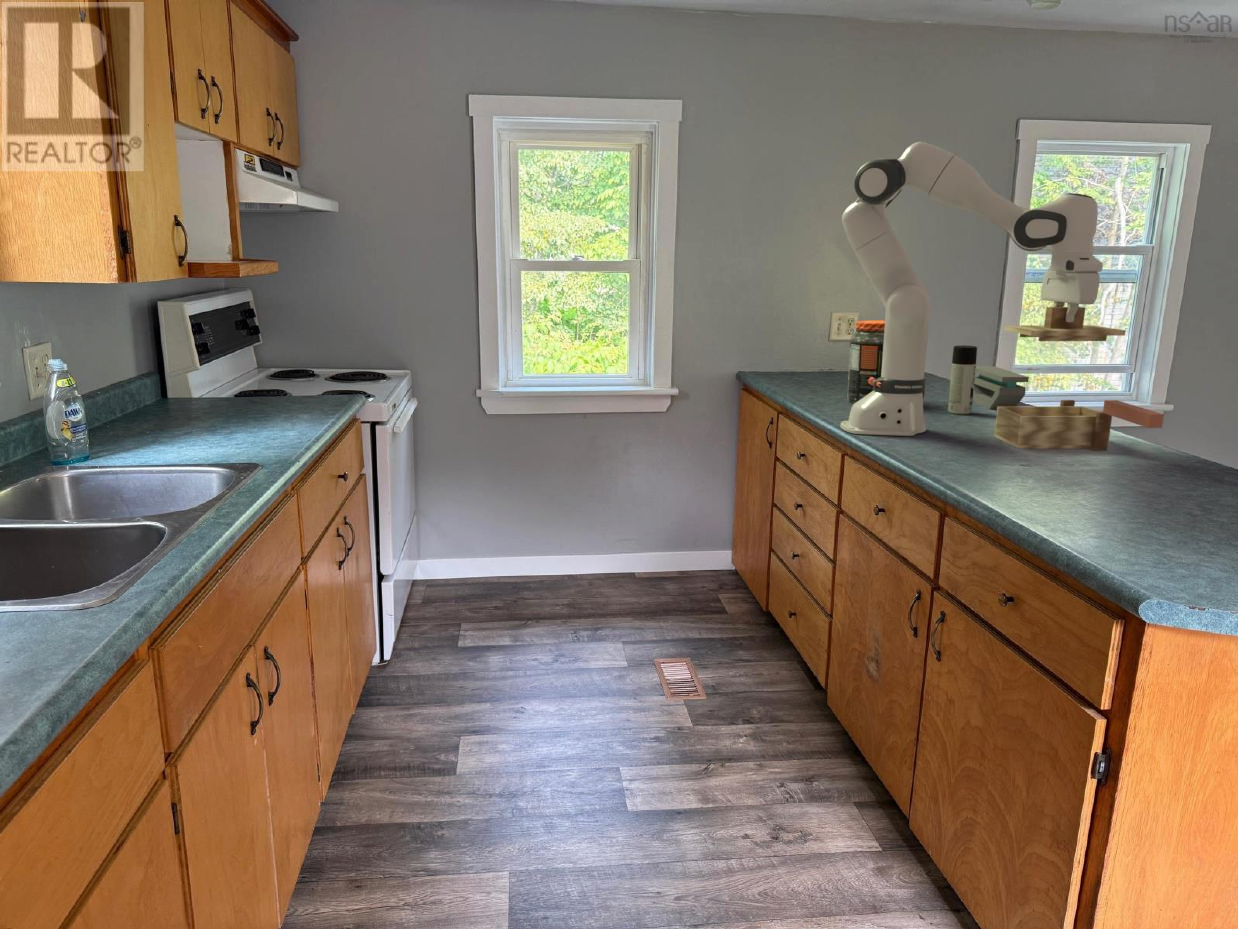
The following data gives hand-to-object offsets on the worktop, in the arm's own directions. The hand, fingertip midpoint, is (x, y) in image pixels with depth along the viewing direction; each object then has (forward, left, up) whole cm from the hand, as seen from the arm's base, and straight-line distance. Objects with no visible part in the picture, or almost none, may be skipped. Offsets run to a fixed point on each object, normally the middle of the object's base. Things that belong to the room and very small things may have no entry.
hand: (1063, 321), depth 208 cm
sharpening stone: (+9, +53, -31) cm, 62 cm away
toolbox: (0, 0, -30) cm, 31 cm away
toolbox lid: (0, 0, -4) cm, 4 cm away
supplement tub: (-28, +60, -31) cm, 73 cm away
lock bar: (+8, -20, -21) cm, 30 cm away
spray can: (-7, +41, -31) cm, 52 cm away
